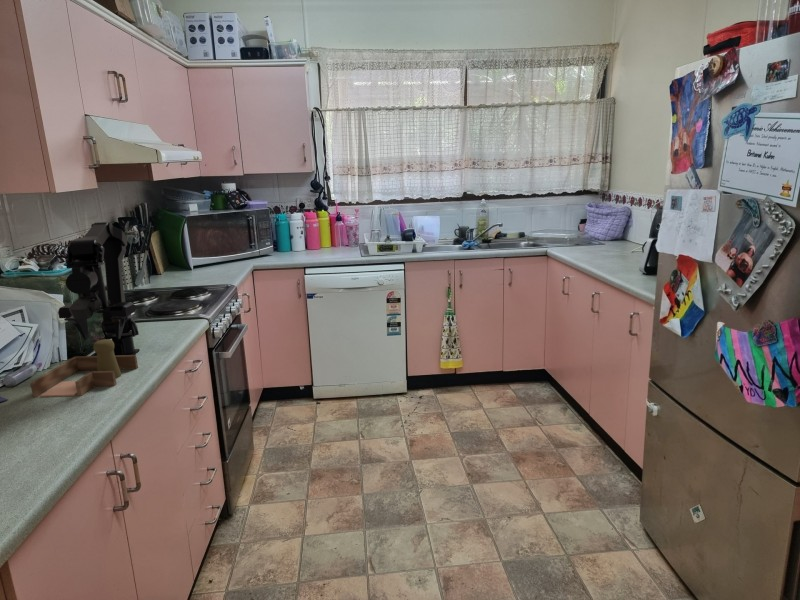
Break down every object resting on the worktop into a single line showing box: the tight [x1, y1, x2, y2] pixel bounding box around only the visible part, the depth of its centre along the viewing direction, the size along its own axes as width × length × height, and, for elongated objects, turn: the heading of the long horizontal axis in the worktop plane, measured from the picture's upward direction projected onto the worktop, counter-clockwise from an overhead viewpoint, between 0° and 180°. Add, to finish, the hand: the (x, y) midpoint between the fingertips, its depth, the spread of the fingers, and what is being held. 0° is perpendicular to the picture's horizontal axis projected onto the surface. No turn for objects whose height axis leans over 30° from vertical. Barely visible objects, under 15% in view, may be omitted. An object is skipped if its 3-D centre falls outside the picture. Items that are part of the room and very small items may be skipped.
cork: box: [92, 338, 122, 380], centre depth 149 cm, size 6×6×11 cm
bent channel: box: [29, 354, 139, 398], centre depth 147 cm, size 19×18×4 cm
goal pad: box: [39, 380, 78, 398], centre depth 143 cm, size 9×9×1 cm
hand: (102, 339), depth 147 cm, fingers open, 9 cm apart
